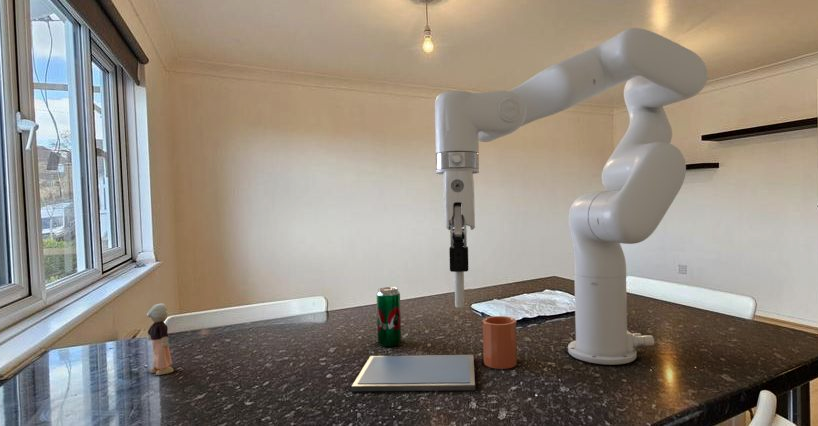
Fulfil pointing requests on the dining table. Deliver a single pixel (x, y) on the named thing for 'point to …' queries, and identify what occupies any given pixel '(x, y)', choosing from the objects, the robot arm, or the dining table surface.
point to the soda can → (388, 317)
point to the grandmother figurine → (159, 340)
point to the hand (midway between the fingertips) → (459, 269)
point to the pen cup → (499, 342)
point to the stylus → (459, 289)
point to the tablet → (417, 373)
